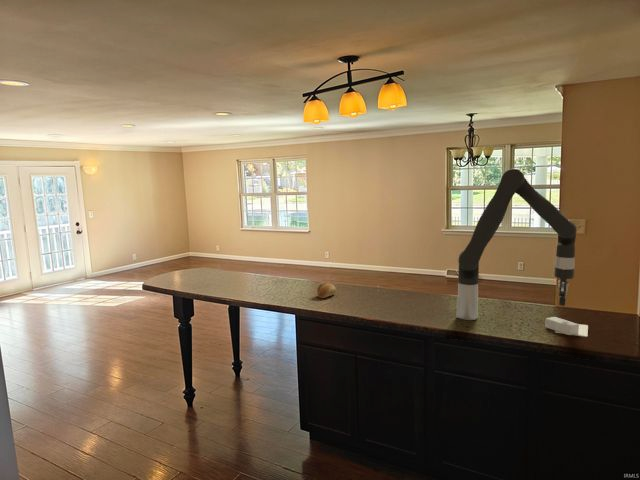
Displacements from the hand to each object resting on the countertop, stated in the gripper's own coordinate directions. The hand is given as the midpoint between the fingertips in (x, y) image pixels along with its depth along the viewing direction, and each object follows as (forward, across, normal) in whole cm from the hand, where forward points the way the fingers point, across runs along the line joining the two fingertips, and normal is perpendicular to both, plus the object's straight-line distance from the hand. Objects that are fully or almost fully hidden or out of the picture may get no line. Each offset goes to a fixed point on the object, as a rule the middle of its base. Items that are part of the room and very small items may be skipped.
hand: (562, 305), depth 191 cm
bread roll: (+12, +1, -123) cm, 123 cm away
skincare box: (+8, +1, -4) cm, 9 cm away
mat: (+10, 0, +4) cm, 11 cm away
